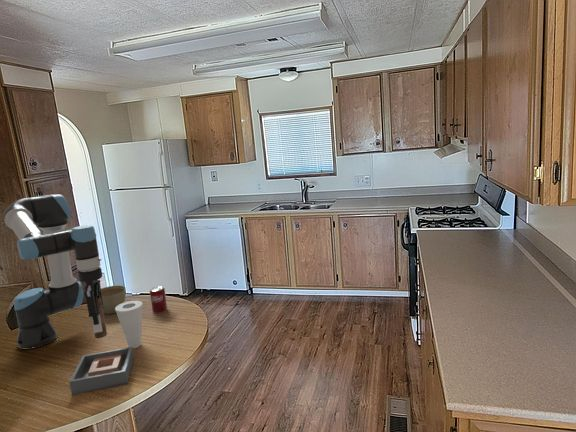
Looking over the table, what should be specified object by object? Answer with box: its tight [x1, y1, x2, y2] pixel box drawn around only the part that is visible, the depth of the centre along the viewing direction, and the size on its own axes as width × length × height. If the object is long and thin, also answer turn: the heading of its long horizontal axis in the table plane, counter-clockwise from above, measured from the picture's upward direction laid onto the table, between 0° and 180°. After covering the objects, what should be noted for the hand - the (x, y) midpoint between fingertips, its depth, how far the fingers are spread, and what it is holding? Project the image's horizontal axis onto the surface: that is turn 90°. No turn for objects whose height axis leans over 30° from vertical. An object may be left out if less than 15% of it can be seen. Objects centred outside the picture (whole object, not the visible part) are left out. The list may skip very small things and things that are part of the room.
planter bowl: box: [101, 285, 127, 315], centre depth 205 cm, size 16×16×11 cm
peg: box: [94, 298, 108, 339], centre depth 144 cm, size 4×4×14 cm
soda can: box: [149, 286, 168, 315], centre depth 200 cm, size 7×7×12 cm
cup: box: [115, 300, 143, 349], centre depth 165 cm, size 11×11×18 cm
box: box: [69, 346, 135, 395], centre depth 145 cm, size 18×18×5 cm
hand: (99, 328), depth 145 cm, fingers closed on peg, 4 cm apart
